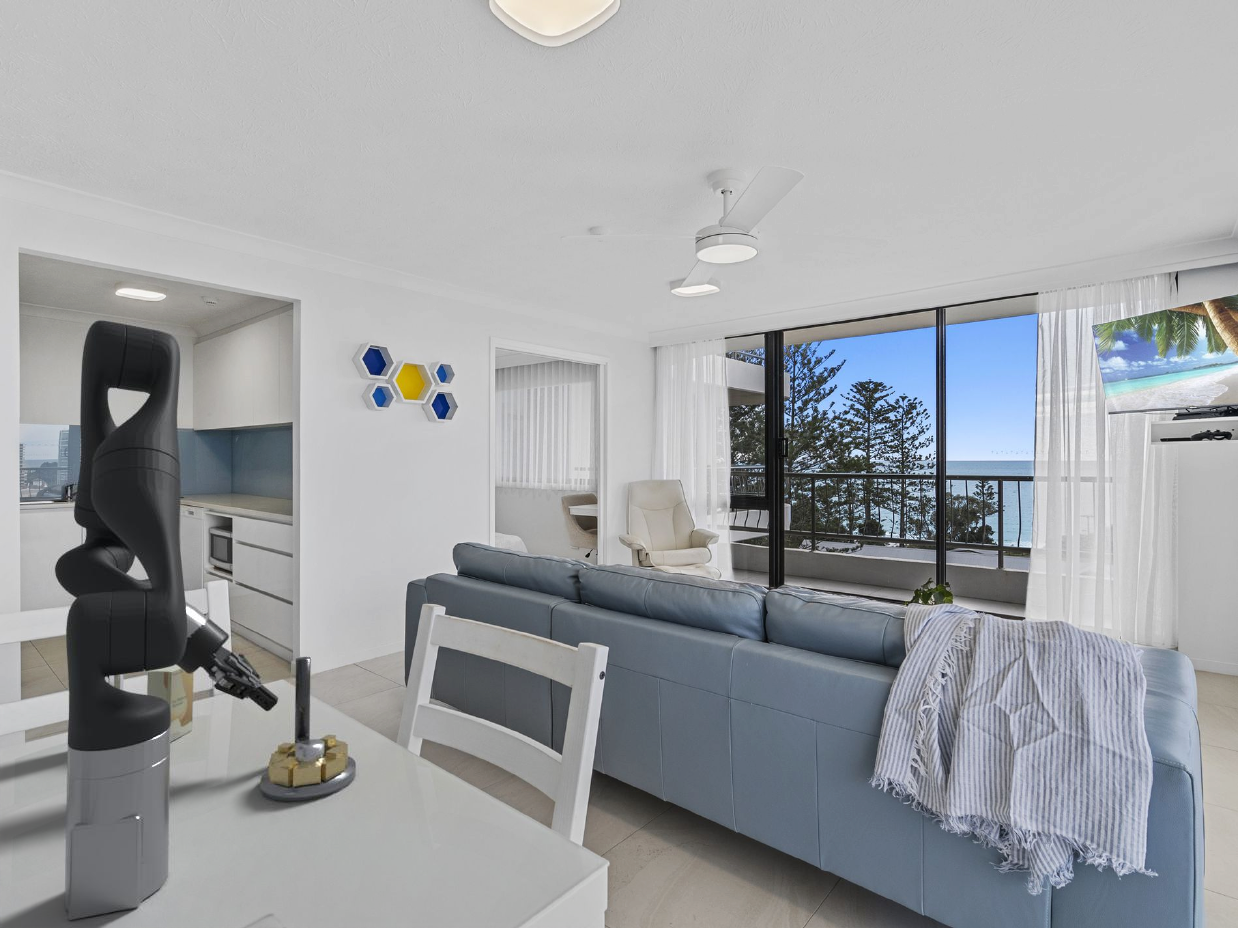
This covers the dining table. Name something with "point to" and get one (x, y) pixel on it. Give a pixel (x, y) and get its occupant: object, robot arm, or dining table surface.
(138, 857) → the robot arm
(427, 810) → the dining table surface
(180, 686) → the skincare box
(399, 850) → the dining table surface
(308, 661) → the lever crank
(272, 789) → the flange
